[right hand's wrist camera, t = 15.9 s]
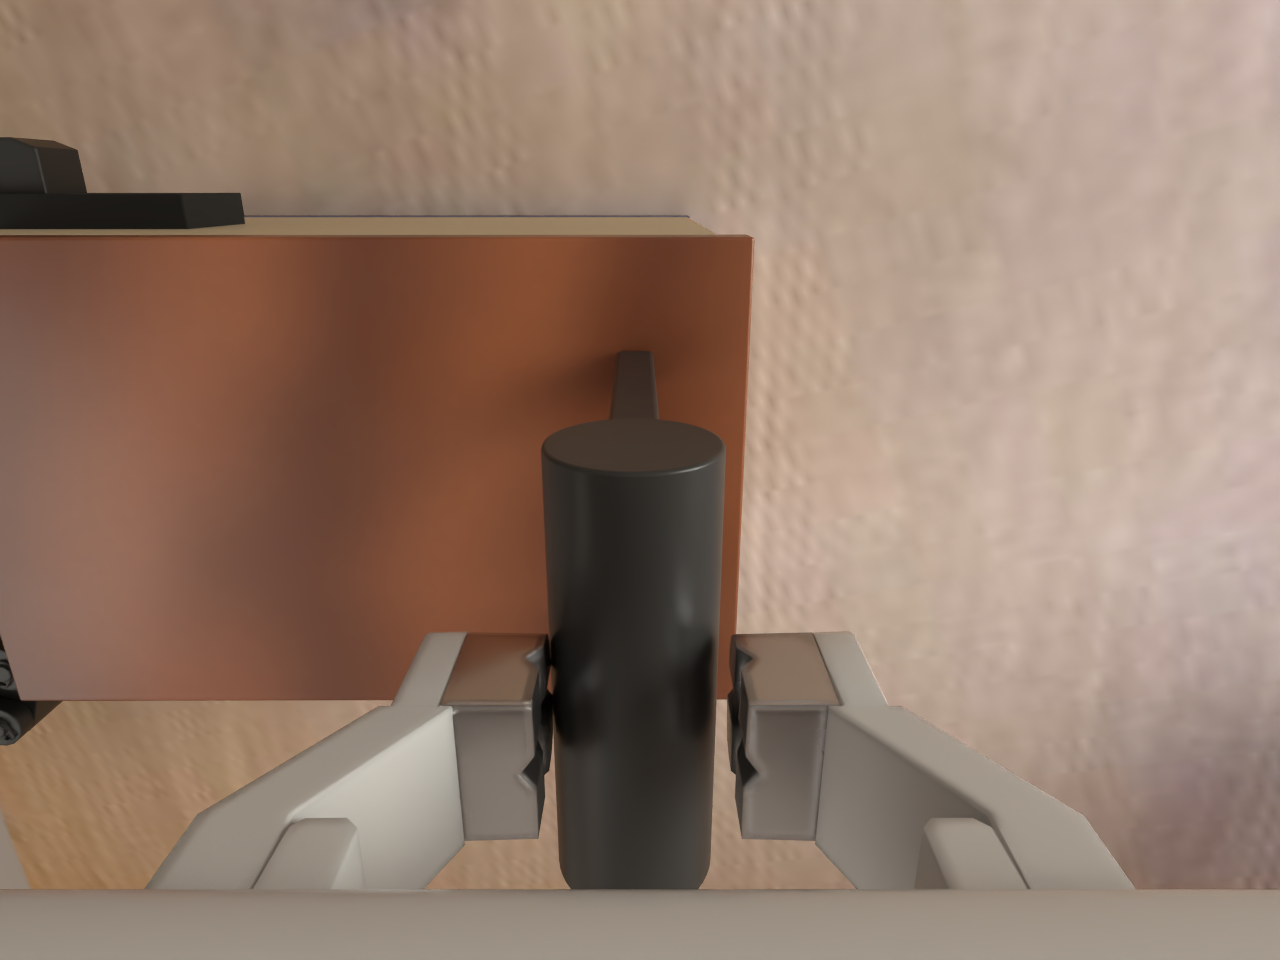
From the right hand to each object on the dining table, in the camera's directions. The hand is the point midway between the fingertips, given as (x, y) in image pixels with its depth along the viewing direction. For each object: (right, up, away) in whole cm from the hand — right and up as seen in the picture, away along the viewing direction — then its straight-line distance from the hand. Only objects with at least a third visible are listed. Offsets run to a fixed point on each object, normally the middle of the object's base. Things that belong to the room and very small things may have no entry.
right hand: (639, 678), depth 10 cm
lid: (-6, +3, +7) cm, 10 cm away
